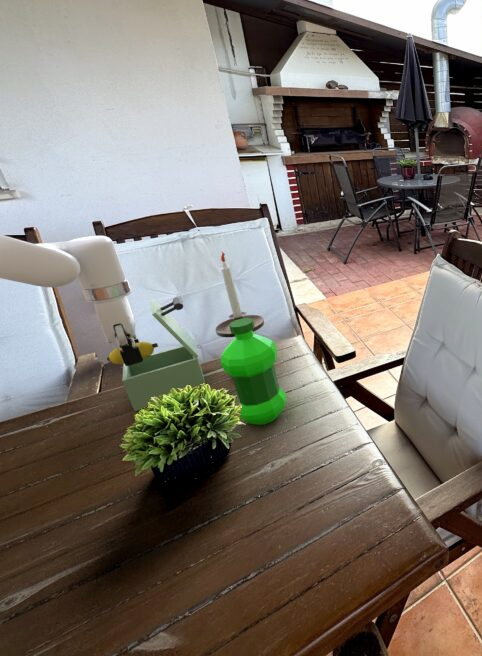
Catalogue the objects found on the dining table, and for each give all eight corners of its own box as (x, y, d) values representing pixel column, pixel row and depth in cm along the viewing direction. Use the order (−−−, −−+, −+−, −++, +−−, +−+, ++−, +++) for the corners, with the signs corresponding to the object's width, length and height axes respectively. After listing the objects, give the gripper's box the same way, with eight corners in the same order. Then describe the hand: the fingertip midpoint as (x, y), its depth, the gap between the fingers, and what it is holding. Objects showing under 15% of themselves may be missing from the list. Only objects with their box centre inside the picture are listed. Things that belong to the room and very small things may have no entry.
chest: (134, 411, 95) (122, 380, 92) (134, 390, 103) (123, 361, 100) (206, 387, 104) (197, 358, 101) (202, 370, 112) (193, 342, 109)
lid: (151, 314, 93) (177, 301, 95) (150, 300, 100) (174, 288, 103) (195, 358, 101) (217, 345, 103) (191, 342, 108) (212, 330, 111)
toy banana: (109, 369, 93) (103, 354, 92) (110, 364, 96) (104, 349, 95) (160, 355, 98) (155, 340, 97) (160, 350, 101) (155, 336, 100)
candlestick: (280, 367, 113) (253, 249, 101) (237, 386, 105) (202, 260, 93) (264, 355, 119) (237, 242, 107) (222, 371, 111) (187, 251, 99)
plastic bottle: (228, 428, 90) (199, 331, 81) (265, 399, 100) (242, 309, 91) (265, 436, 88) (239, 337, 79) (300, 406, 98) (279, 314, 89)
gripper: (87, 284, 94) (115, 351, 101) (80, 307, 82) (112, 381, 89) (130, 276, 99) (153, 340, 105) (129, 297, 87) (155, 368, 93)
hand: (134, 358), depth 97 cm, fingers closed on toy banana, 4 cm apart
